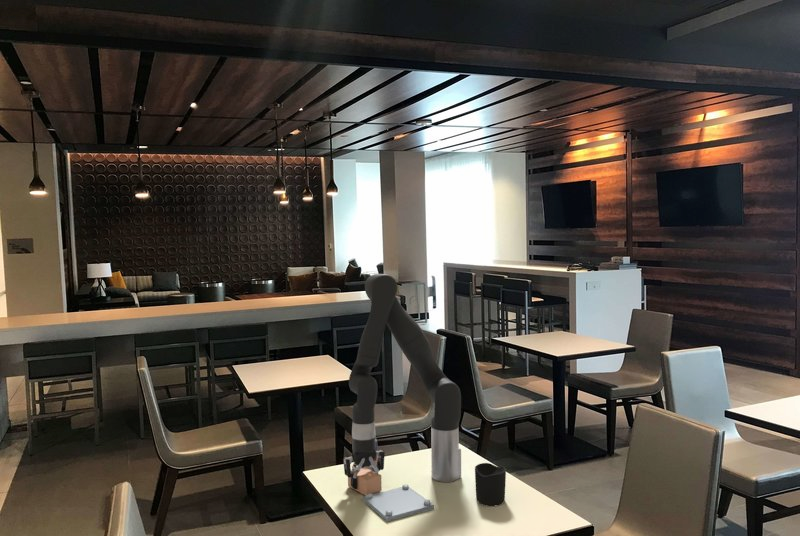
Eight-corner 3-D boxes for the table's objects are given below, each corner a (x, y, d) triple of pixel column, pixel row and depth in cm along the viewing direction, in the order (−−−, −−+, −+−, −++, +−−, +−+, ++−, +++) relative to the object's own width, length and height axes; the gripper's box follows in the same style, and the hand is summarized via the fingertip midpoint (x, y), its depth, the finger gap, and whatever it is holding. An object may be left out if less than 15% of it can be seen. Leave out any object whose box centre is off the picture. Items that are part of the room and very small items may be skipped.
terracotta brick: (348, 486, 192) (347, 471, 192) (362, 481, 196) (362, 466, 196) (366, 496, 185) (366, 480, 184) (381, 490, 188) (381, 475, 188)
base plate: (407, 489, 190) (407, 483, 190) (434, 508, 176) (434, 502, 176) (362, 500, 182) (362, 494, 182) (386, 521, 168) (386, 514, 168)
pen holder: (498, 492, 187) (498, 461, 187) (510, 505, 178) (510, 472, 177) (470, 495, 185) (470, 464, 185) (481, 508, 176) (481, 475, 175)
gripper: (378, 428, 196) (379, 477, 197) (338, 435, 189) (339, 486, 190) (389, 434, 190) (389, 485, 190) (348, 442, 183) (349, 495, 183)
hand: (364, 485), depth 190 cm, fingers closed on terracotta brick, 6 cm apart
